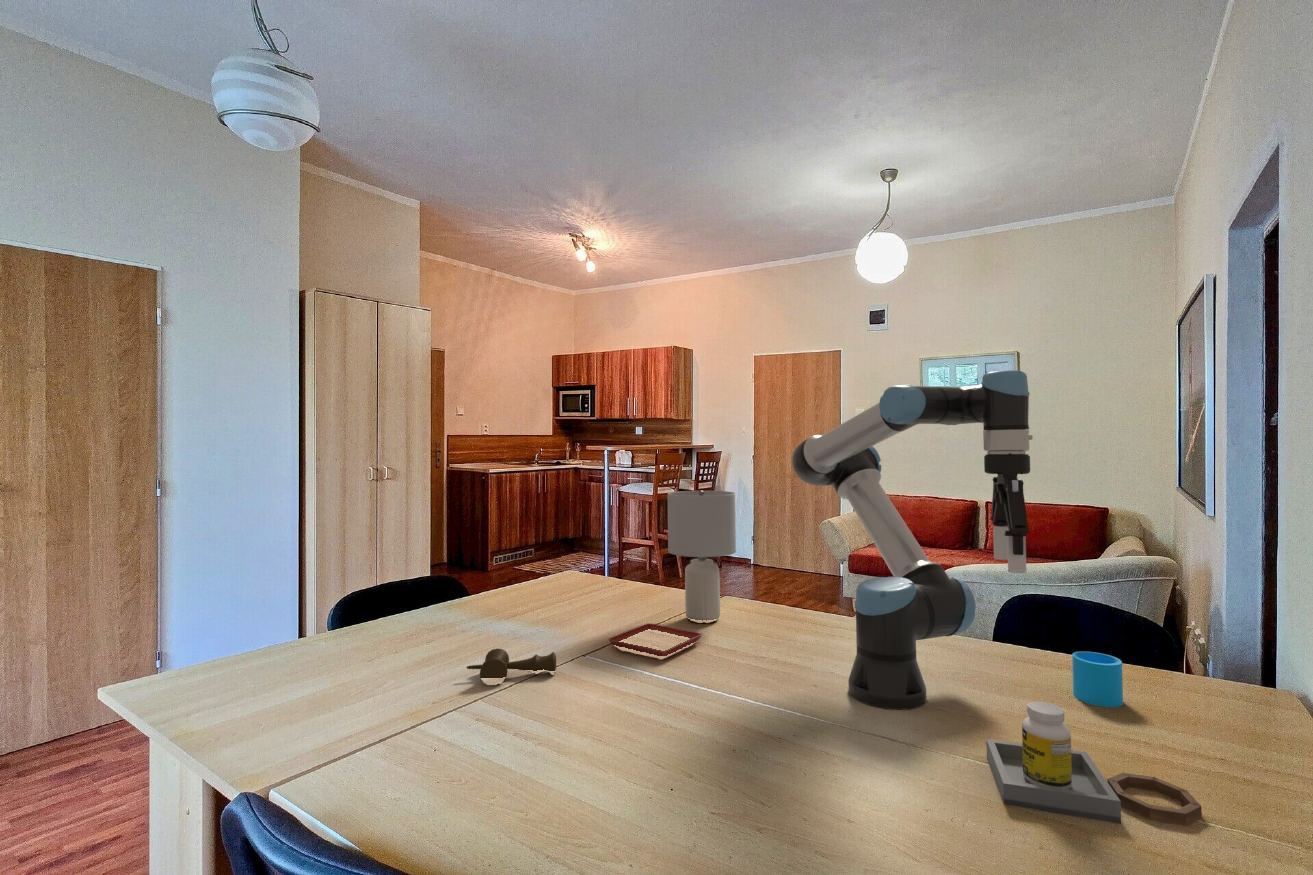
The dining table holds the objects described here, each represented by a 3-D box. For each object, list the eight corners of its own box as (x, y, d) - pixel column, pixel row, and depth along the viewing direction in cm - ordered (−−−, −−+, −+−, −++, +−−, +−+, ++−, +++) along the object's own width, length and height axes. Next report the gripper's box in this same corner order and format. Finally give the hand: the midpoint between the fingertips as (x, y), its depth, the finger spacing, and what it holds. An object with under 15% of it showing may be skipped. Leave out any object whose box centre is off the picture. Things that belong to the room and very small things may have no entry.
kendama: (556, 684, 135) (462, 688, 132) (555, 669, 144) (468, 673, 141) (556, 656, 135) (463, 660, 132) (556, 644, 145) (469, 647, 141)
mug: (1131, 709, 118) (1129, 666, 118) (1082, 704, 120) (1081, 663, 120) (1104, 685, 129) (1103, 647, 129) (1060, 682, 131) (1059, 644, 131)
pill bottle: (1013, 771, 94) (1012, 699, 94) (1051, 769, 94) (1049, 698, 95) (1042, 794, 88) (1040, 717, 88) (1082, 791, 88) (1080, 715, 88)
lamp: (664, 628, 174) (662, 492, 175) (674, 609, 194) (672, 488, 195) (735, 630, 171) (733, 492, 171) (737, 611, 191) (736, 488, 192)
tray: (1003, 804, 87) (1003, 783, 87) (986, 757, 100) (986, 738, 100) (1121, 823, 82) (1120, 801, 82) (1086, 771, 95) (1086, 752, 95)
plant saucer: (648, 633, 170) (648, 622, 170) (703, 645, 160) (703, 632, 160) (606, 651, 156) (606, 638, 156) (664, 665, 145) (664, 651, 145)
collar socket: (1125, 815, 84) (1125, 804, 84) (1100, 779, 93) (1100, 769, 93) (1212, 829, 80) (1212, 817, 80) (1178, 791, 89) (1177, 780, 90)
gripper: (1047, 453, 102) (1050, 580, 101) (1014, 452, 125) (1017, 555, 125) (996, 453, 104) (999, 577, 104) (974, 452, 128) (976, 553, 127)
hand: (1009, 565), depth 114 cm, fingers open, 13 cm apart
